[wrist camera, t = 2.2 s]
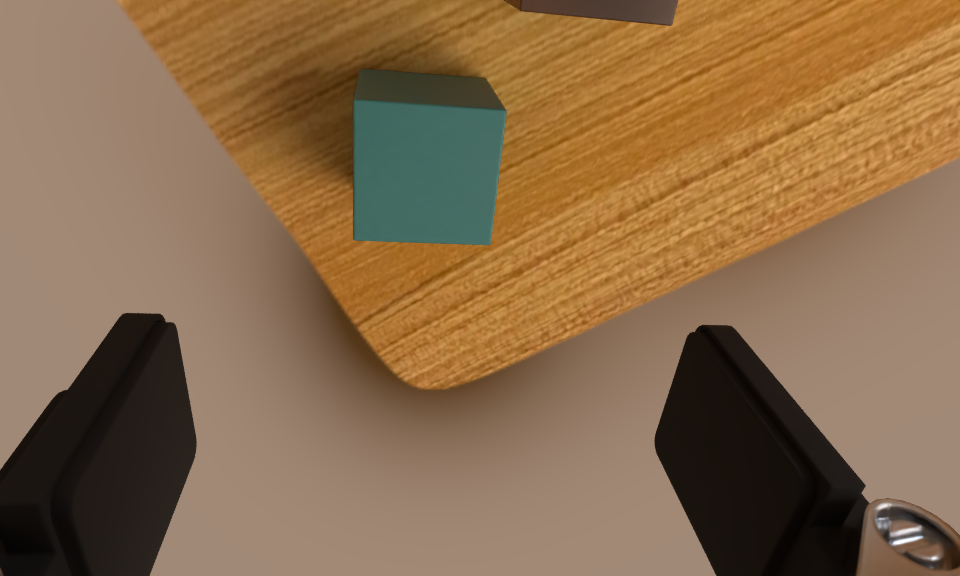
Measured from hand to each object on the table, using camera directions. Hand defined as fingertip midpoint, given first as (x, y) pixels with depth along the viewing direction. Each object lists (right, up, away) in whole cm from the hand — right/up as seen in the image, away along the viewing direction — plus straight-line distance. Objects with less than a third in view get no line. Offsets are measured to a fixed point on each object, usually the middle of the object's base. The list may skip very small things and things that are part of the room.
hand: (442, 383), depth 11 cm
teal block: (-2, +8, +14) cm, 16 cm away
